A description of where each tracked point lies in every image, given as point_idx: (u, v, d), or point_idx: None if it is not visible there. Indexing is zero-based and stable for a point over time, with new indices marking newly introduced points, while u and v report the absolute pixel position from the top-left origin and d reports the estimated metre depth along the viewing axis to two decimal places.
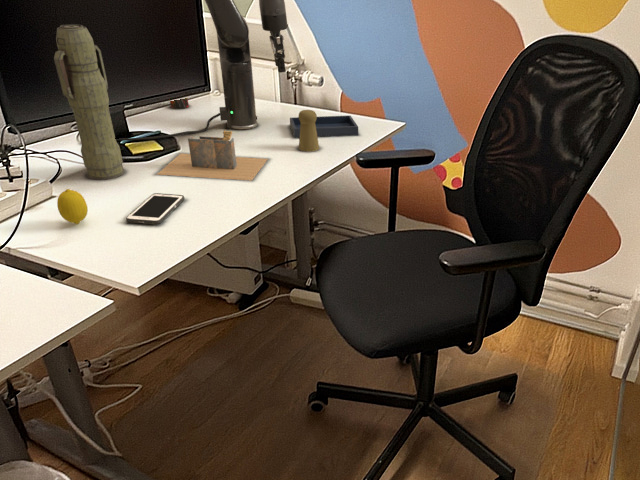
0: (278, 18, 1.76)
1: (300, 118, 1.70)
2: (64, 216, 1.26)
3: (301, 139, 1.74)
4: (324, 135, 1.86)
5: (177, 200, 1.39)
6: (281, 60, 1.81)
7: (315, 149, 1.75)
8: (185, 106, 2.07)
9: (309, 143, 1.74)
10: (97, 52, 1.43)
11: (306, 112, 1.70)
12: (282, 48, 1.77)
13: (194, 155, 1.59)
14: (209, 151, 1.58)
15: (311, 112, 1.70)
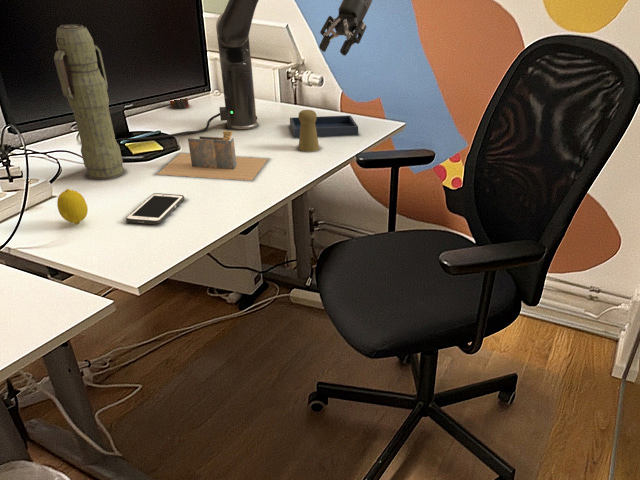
0: (365, 10, 1.74)
1: (300, 118, 1.70)
2: (64, 216, 1.26)
3: (301, 139, 1.74)
4: (324, 135, 1.86)
5: (177, 200, 1.39)
6: (350, 43, 1.71)
7: (315, 149, 1.75)
8: (185, 106, 2.07)
9: (309, 143, 1.74)
10: (97, 52, 1.43)
11: (306, 112, 1.70)
12: (362, 34, 1.71)
13: (194, 155, 1.59)
14: (209, 151, 1.58)
15: (311, 112, 1.70)
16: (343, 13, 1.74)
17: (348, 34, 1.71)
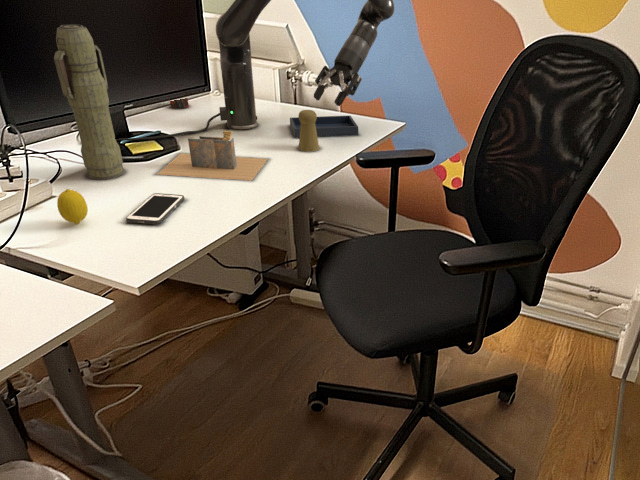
0: (360, 63, 1.76)
1: (300, 118, 1.70)
2: (64, 216, 1.26)
3: (301, 139, 1.74)
4: (324, 135, 1.86)
5: (177, 200, 1.39)
6: (345, 95, 1.73)
7: (315, 149, 1.75)
8: (185, 106, 2.07)
9: (309, 143, 1.74)
10: (97, 52, 1.43)
11: (306, 112, 1.70)
12: (356, 86, 1.73)
13: (194, 155, 1.59)
14: (209, 151, 1.58)
15: (311, 112, 1.70)
16: (339, 64, 1.76)
17: (343, 86, 1.73)
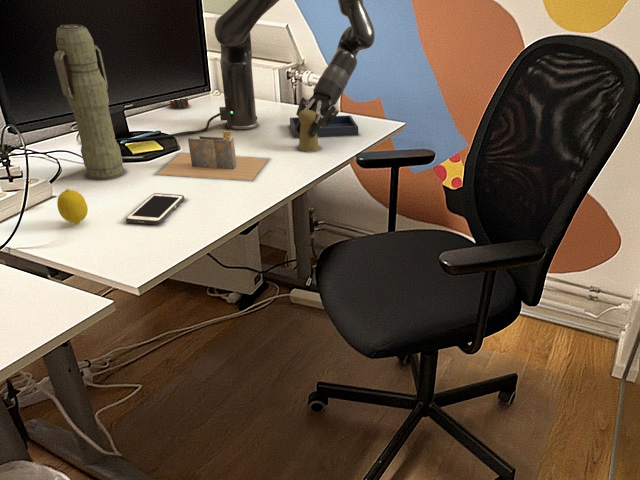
0: (340, 93, 1.74)
1: (300, 118, 1.70)
2: (64, 216, 1.26)
3: (301, 139, 1.74)
4: (324, 135, 1.86)
5: (177, 200, 1.39)
6: (318, 126, 1.72)
7: (315, 149, 1.75)
8: (185, 106, 2.07)
9: (309, 143, 1.74)
10: (97, 52, 1.43)
11: (306, 112, 1.70)
12: (331, 119, 1.71)
13: (194, 155, 1.59)
14: (209, 151, 1.58)
15: (311, 112, 1.70)
16: (318, 94, 1.73)
17: (317, 117, 1.71)
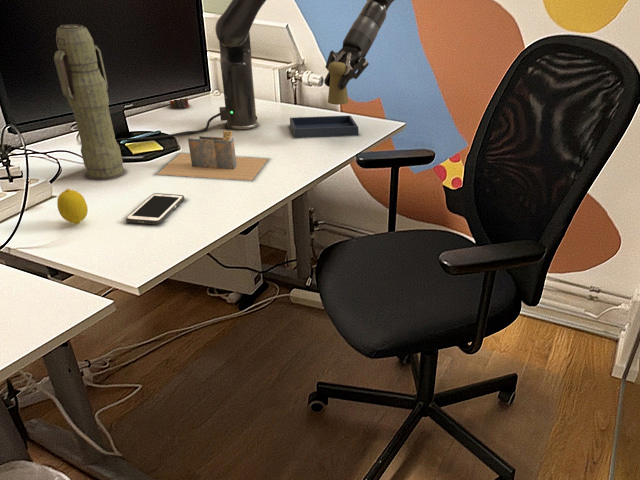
0: (369, 45, 1.72)
1: (330, 70, 1.69)
2: (64, 216, 1.26)
3: (331, 92, 1.72)
4: (324, 135, 1.86)
5: (177, 200, 1.39)
6: (348, 78, 1.70)
7: (345, 102, 1.74)
8: (185, 106, 2.07)
9: (339, 96, 1.72)
10: (97, 52, 1.43)
11: (336, 63, 1.69)
12: (361, 71, 1.70)
13: (194, 155, 1.59)
14: (209, 151, 1.58)
15: (341, 64, 1.69)
16: (347, 46, 1.72)
17: (347, 69, 1.70)
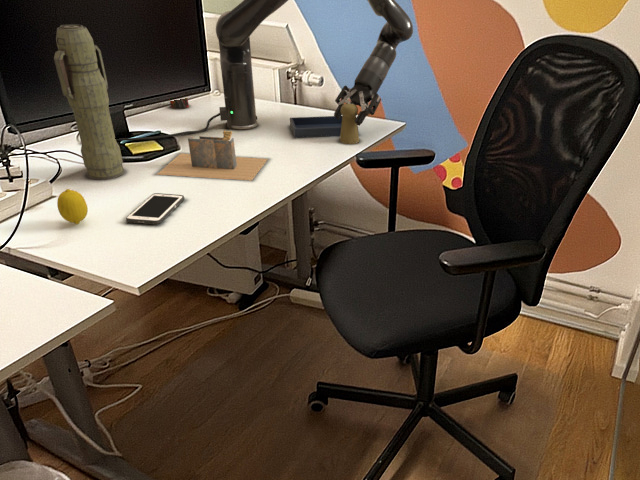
0: (380, 83, 1.81)
1: (342, 112, 1.78)
2: (64, 216, 1.26)
3: (343, 132, 1.81)
4: (324, 135, 1.86)
5: (177, 200, 1.39)
6: (365, 115, 1.78)
7: (356, 141, 1.82)
8: (185, 106, 2.07)
9: (351, 136, 1.81)
10: (97, 52, 1.43)
11: (348, 106, 1.77)
12: (376, 106, 1.78)
13: (194, 155, 1.59)
14: (209, 151, 1.58)
15: (353, 106, 1.78)
16: (359, 84, 1.80)
17: (363, 106, 1.77)
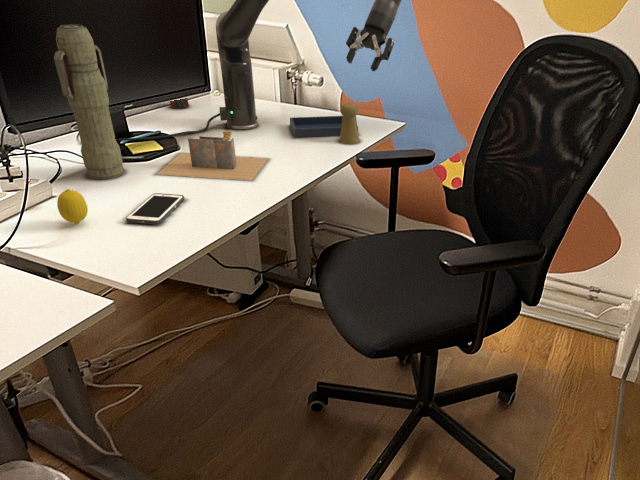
0: (391, 25, 1.81)
1: (342, 112, 1.78)
2: (64, 216, 1.26)
3: (343, 132, 1.81)
4: (324, 135, 1.86)
5: (177, 200, 1.39)
6: (380, 60, 1.80)
7: (356, 141, 1.82)
8: (185, 106, 2.07)
9: (351, 136, 1.81)
10: (97, 52, 1.43)
11: (348, 106, 1.77)
12: (390, 51, 1.80)
13: (194, 155, 1.59)
14: (209, 151, 1.58)
15: (353, 106, 1.78)
16: (370, 27, 1.80)
17: (378, 51, 1.79)
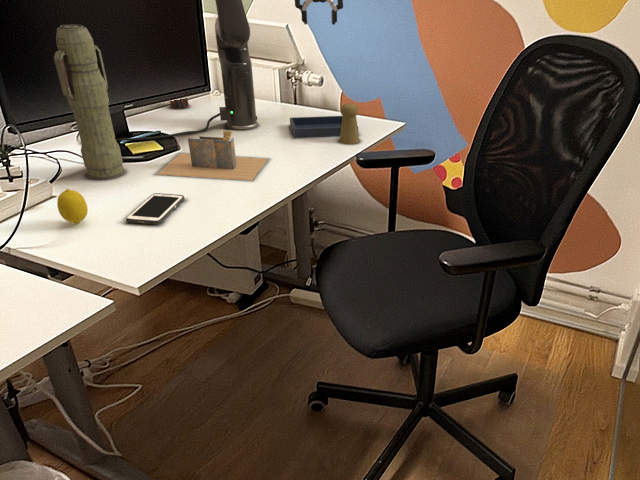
0: None
1: (342, 112, 1.78)
2: (64, 216, 1.26)
3: (343, 132, 1.81)
4: (324, 135, 1.86)
5: (177, 200, 1.39)
6: None
7: (356, 141, 1.82)
8: (185, 106, 2.07)
9: (351, 136, 1.81)
10: (97, 52, 1.43)
11: (348, 106, 1.77)
12: None
13: (194, 155, 1.59)
14: (209, 151, 1.58)
15: (353, 106, 1.78)
16: None
17: (333, 5, 1.80)
